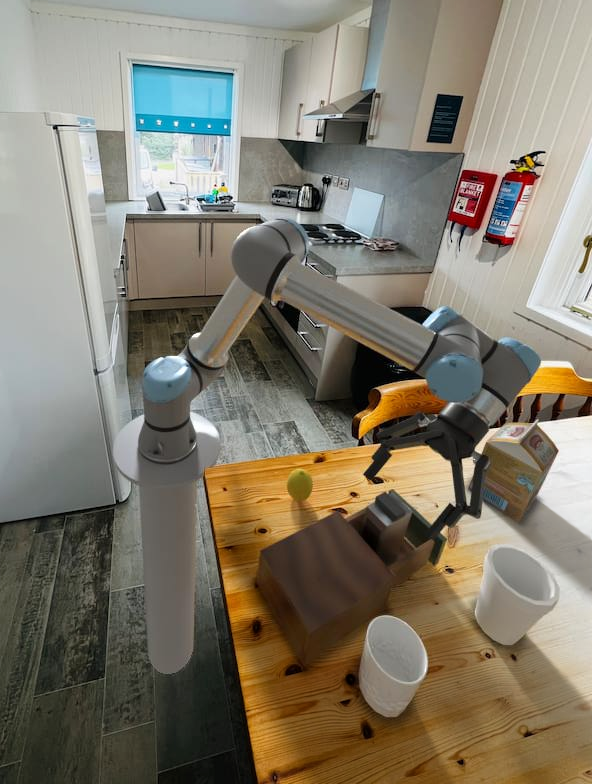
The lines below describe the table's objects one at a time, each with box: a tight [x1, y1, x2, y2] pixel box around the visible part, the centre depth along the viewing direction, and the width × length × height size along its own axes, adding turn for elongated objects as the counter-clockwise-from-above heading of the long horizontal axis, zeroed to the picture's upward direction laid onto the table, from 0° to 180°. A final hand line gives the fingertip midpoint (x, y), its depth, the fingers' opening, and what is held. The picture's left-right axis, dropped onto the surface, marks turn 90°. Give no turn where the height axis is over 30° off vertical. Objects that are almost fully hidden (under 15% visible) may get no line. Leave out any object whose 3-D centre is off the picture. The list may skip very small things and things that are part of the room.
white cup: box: [357, 615, 429, 718], centre depth 56 cm, size 8×8×10 cm
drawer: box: [344, 488, 448, 590], centre depth 74 cm, size 18×12×7 cm
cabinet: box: [255, 510, 396, 667], centre depth 67 cm, size 18×14×9 cm
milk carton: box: [467, 418, 560, 522], centre depth 88 cm, size 11×10×19 cm
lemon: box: [286, 468, 314, 502], centre depth 86 cm, size 6×6×8 cm
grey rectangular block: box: [359, 491, 412, 564], centre depth 72 cm, size 5×7×13 cm
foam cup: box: [474, 543, 561, 646], centre depth 64 cm, size 10×9×13 cm
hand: (395, 505), depth 70 cm, fingers open, 13 cm apart
